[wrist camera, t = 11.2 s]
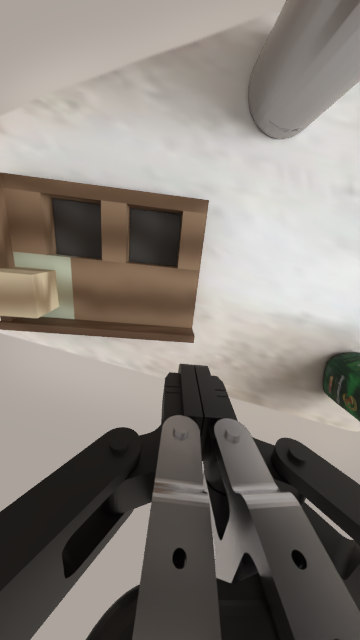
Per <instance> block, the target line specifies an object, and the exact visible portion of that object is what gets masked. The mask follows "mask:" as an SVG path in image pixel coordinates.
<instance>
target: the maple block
mask: <svg viewBox="0 0 360 640" xmlns="http://www.w3.org/2000/svg"><path fill="white" fill-rule="evenodd" d="M58 307H59V302H58V291H57V281H56V270H47V269H37V268H26V267H16V266H14V267H6V268H0V316H12V317H25V318H39V317H41V316H43V315H45V314H46V313H48V312H50V311H52V310H54V309H56V308H58Z"/></svg>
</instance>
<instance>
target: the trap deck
mask: <svg viewBox="0 0 360 640" xmlns="http://www.w3.org/2000/svg"><path fill="white" fill-rule="evenodd" d="M58 199H61V200H58ZM66 200H69V201H66ZM74 201H77V202H74ZM82 202H85V203H82ZM90 203H93V204H90ZM208 203H209V200H202V199H195V198H187V197H180V196H172V195H165V194H157V193H150V192H142V191H135V190H127V189H120V188H112V187H105V186H97V185H90V184H82V183H75V182H68V181H60V180H53V179H45V178H38V177H30V176H23V175H15V174H8V173H0V268H6V267H14V266H16V267H26V268H37V269H47V270H56V281H57V291H58V302H59V307H58V308H56V309H54V310H52V311H50V312H48V313H46V314H45V315H43V316H41V317H39V318H25V317H12V316H0V317H1V321H0V329H2V330H16V331H30V332H45V333H59V334H73V335H88V336H102V337H116V338H131V339H145V340H159V341H174V342H188V343H194V333H193V330H192V324H193V316H194V309H195V301H196V294H197V286H198V279H199V271H200V263H201V256H202V248H203V241H204V233H205V226H206V218H207V211H208ZM98 204H101V205H98ZM130 208H133V209H131V218H130ZM138 209H141V210H138ZM146 210H149V211H146ZM154 211H157V212H154ZM162 212H165V213H162ZM170 213H173V214H170ZM178 214H180V215H178ZM181 215H182V218H181ZM180 222H181V228H180ZM179 233H180V239H179ZM178 243H179V249H178ZM129 253H130V261H133V262H129ZM60 254H65V255H60ZM177 254H178V260H177ZM69 255H74V256H69ZM79 256H84V257H79ZM89 257H94V258H89ZM98 258H102V259H98ZM137 262H142V263H137ZM147 263H152V264H147ZM157 264H162V265H157ZM176 264H177V267H176ZM167 265H171V266H167Z"/></svg>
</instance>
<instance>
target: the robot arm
mask: <svg viewBox="0 0 360 640" xmlns="http://www.w3.org/2000/svg"><path fill="white" fill-rule="evenodd" d="M359 81H360V0H286V2H285V4H284V6H283V8H282V10H281V13H280V15H279V17H278V19H277V21H276V23H275V25H274V27H273V29H272V31H271V33H270V35H269V37H268V39H267V42H266V44H265V46H264V48H263V50H262V52H261V54H260V56H259V58H258V60H257V62H256V65H255V67H254V69H253V72H252V75H251V78H250V84H249V106H250V111H251V114H252V117H253V119H254V121H255V123H256V124H257V126H258V127H259V128H260V129H261V130H262V132H264V133H265V134H267V135H268V136H270V137H273V138H277V139H285V138H289V137H292V136H294V135H296V134H298V133H300V132H301V131H302V130H304V129H305V128H306V127H307V126H308V125H309V124H311V123H312V122H313V121H314V120H315V119H316V118H317V117H319V116H320V115H321V114H322V113H323V112H324V111H326V110H327V109H328V108H329V107H330V106H331V105H333V104H334V103H335V102H336V101H337V100H338V99H339V98H341V97H342V96H343V95H344V94H345V93H346V92H347V91H349V90H350V89H351V88H352V87H353V86H354V85H355V84H357V83H358V82H359ZM162 403H163V404H162V420H161V425H160V426H159V427H158V429H156V430H155V431H153V432H151V433H148V434H144V435H140V436H139V435H138V434H137V433H136V432H135V431H134V430H132V429H130V428H124V427H122V428H116V429H112V430H110V431H109V432H107V433H106V434H104V435H103V436H102V437H100V438H99V439H97V440H96V441H95V442H93V443H92V444H91V445H90V446H88V447H87V448H85V449H84V450H83V451H82V452H80V453H79V454H77V455H76V456H75V457H73V458H72V459H71V460H69V461H68V462H67V463H65V464H64V465H63V466H61V467H60V468H59V469H57V470H56V471H55V472H53V473H52V474H51V475H49V476H48V477H47V478H45V479H44V480H42V481H41V482H40V483H38V484H37V485H36V486H34V487H33V488H32V489H30V490H29V491H28V492H26V493H25V494H24V495H22V496H21V497H20V498H18V499H17V500H16V501H14V502H13V503H12V504H10V505H9V506H8V507H6V508H5V509H4V510H2V511H1V512H0V640H30V639H31V638H32V637H33V635H34V634H35V633H36V632H37V630H38V629H39V628H40V626H41V625H42V624H43V623H44V622H45V620H46V619H47V618H48V617H49V615H50V614H51V613H52V612H53V610H54V609H55V608H56V607H57V606H58V604H59V603H60V602H61V601H62V599H63V598H64V597H65V596H66V594H67V593H68V592H69V591H70V589H71V588H72V587H73V585H74V584H75V583H76V582H77V581H78V579H79V578H80V577H81V576H82V574H83V573H84V572H85V570H86V569H87V568H88V567H89V566H90V564H91V563H92V562H93V561H94V559H95V558H96V557H97V555H98V554H99V553H100V552H101V551H102V549H103V548H104V547H105V546H106V544H107V543H108V542H109V540H110V539H111V538H112V537H113V536H114V534H115V533H116V532H117V531H118V529H119V528H120V527H121V525H122V524H123V523H124V522H125V521H126V519H127V518H128V517H129V516H130V514H131V513H132V512H133V510H134V509H135V508H137V507H140V506H142V505H145V504H147V503H150V502H152V503H151V510H150V518H149V524H148V531H147V538H146V545H145V552H144V560H143V566H142V573H141V581H140V585H138V586H136V587H134V588H132V589H131V590H129V591H128V592H126V593H125V594H124V595H123V596H122V597H120V598H119V599H118V600H117V601H116V602H115V603H114V604H113V605H112V606H111V607H110V608H109V609H108V610H107V611H106V612H105V614H104V615H103V616H102V617H101V619H100V620H99V621H98V623H97V624H96V625H95V627H94V628H93V629H92V631H91V633H90V634H89V636H88V637H87V639H86V640H360V485H359V484H358V483H357V482H355V481H354V480H352V479H351V478H350V477H348V476H347V475H345V474H344V473H342V472H341V471H339V470H338V469H337V468H335V467H334V466H333V465H331V464H330V463H329V462H327V461H326V460H324V459H323V458H322V457H320V456H318V455H317V454H316V453H314V452H313V451H312V450H310V449H309V448H308V447H306V446H305V445H303V444H302V443H300V442H298V441H296V440H293V439H290V438H281V439H279V440H278V441H277V442H276V445H275V446H274V445H272V444H269V443H266V442H263V441H260V440H257V439H255V438H253V437H252V436H251V434H250V432H249V431H248V430H247V428H246V427H245V426H244V425H243V424H241V423H240V422H238V421H237V418H236V415H235V413H234V410H233V408H232V405H231V402H230V399H229V398H228V394H227V392H226V389H225V386H224V384H223V382H222V381H221V380H220V379H219V378H218V377H217V376H211V374H210V371H209V368H208V366H201V365H189V364H180V365H179V371H178V373H169V374H168V375H167V377H166V378H165V385H164V393H163V402H162ZM202 461H203V464H204V473H203V472H202ZM306 498H307V499H308V500H309V501H310V502H312V503H313V504H314V505H315V506H316V507H317V508H319V509H320V510H321V511H322V512H323V513H324V514H325V515H326V516H328V517H329V518H330V519H331V520H332V521H333V522H334V523H336V524H337V525H338V526H339V527H340V528H341V529H342V530H344V531H345V532H346V533H347V534H348V535H349V536H350V537H352V538H353V539H354V540H349V539H347V538H345V537H343V536H342V535H341V534H339V533H338V532H337V531H336V530H335V529H334V528H333V527H332V526H331V525H329V524H328V523H327V522H326V521H325V520H324V519H323V518H322V517H320V516H319V515H318V514H317V513H316V512H315V511H314V510H312V508H310V507H309V506H308V505H307V504H306V503H305V502H304V501H305V499H306ZM212 533H213V536H212ZM213 538H214V544H215V555H216V556H215V559H214V548H213ZM215 568H216V570H215Z"/></svg>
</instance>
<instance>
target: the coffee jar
mask: <svg viewBox="0 0 360 640" xmlns="http://www.w3.org/2000/svg"><path fill="white" fill-rule="evenodd" d="M323 389H324V392H325V393H326V394H327V395H328V396H329V397H330V398H331V399H332V400H334V401H335V402H336V403H337V404H338V405H340V406H341V407H342V408H344V409H345V410H346V411H347V412H349V413H350V414H351V415H353V416H354V417H355V418H356V419H357V420H359V421H360V353H357V352H351V353H343V354H340V355H337V356H335V357H334V358H332V359H331V360H329V362H328V363H327V366H326V369H325V373H324V380H323Z"/></svg>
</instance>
